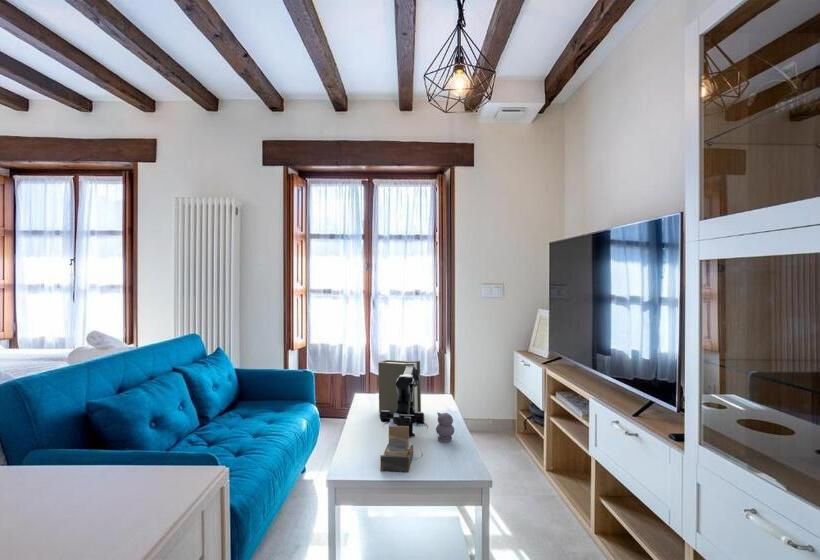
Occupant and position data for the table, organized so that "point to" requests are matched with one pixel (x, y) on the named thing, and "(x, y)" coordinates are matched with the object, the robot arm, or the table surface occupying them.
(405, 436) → the slab
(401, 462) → the roller track
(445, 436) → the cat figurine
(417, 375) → the robot arm
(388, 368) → the book
